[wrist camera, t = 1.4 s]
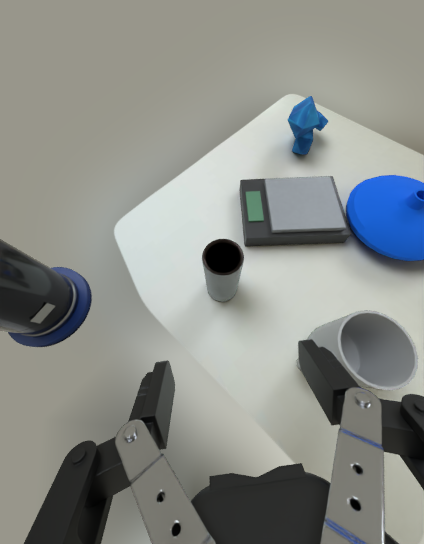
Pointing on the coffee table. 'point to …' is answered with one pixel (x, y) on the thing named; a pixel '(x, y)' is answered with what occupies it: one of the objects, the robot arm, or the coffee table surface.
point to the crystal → (305, 124)
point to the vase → (389, 216)
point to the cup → (370, 349)
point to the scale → (292, 211)
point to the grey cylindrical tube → (222, 268)
